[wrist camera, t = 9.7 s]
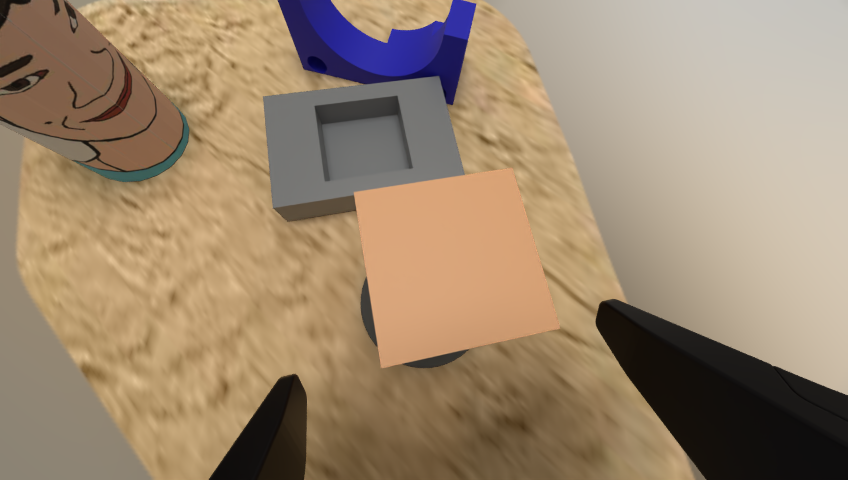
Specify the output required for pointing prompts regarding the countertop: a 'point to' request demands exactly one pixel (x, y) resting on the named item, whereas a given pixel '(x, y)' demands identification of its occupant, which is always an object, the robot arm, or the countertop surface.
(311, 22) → the cable clip
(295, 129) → the socket block
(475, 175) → the tan rectangular block
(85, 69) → the cup
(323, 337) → the countertop surface
